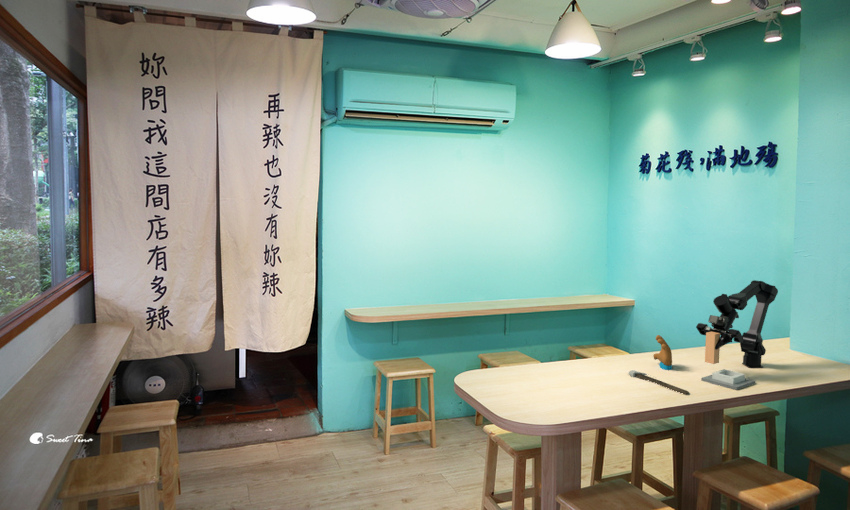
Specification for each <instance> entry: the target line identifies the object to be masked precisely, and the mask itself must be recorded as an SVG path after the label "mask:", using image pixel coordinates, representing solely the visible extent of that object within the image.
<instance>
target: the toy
mask: <svg viewBox="0 0 850 510" xmlns="http://www.w3.org/2000/svg"><path fill="white" fill-rule="evenodd" d="M655 340H656V341H657V343H658V344H659V345H660V348H661V349H660V351H659V353H654V354H653V360H655V361H656V360H658V361H659V363H658V364H659V368H660V369H662V370H664V371H671V370H672V369H673V368H672V367H673V355H672V349H671V347H670V345H669V344H668V343H667V342H666V341H665V339H664V338H663V337H662V336H661V335H659V334H657V335H656V336H655Z"/></svg>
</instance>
